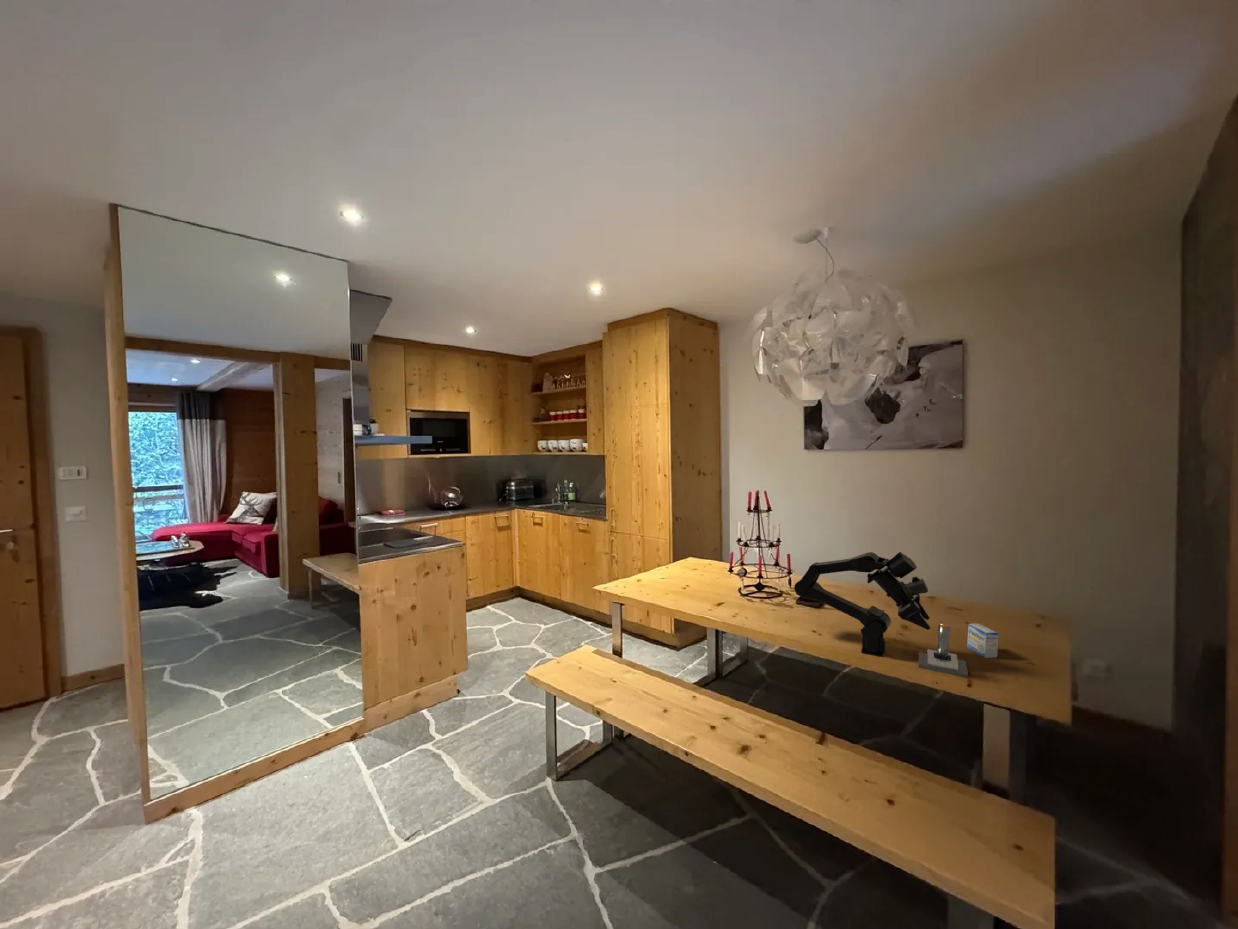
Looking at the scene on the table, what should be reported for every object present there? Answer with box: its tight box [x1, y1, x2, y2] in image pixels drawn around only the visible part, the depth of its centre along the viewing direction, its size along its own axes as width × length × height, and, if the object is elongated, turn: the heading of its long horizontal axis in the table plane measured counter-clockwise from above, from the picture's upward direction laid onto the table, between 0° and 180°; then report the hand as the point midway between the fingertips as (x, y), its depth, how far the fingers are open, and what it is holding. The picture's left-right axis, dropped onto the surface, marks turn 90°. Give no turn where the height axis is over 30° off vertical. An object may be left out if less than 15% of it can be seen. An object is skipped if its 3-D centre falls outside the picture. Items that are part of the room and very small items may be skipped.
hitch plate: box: [917, 648, 969, 678], centre depth 160 cm, size 13×10×3 cm
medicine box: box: [966, 623, 999, 659], centre depth 168 cm, size 8×4×9 cm, turn 4°
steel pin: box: [936, 620, 951, 660], centre depth 159 cm, size 3×3×13 cm
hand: (929, 624), depth 161 cm, fingers open, 9 cm apart
